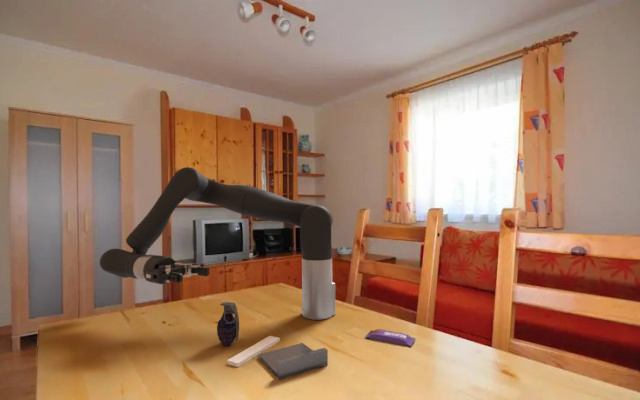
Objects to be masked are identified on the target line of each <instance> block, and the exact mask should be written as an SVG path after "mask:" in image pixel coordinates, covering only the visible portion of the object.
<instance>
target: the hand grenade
mask: <svg viewBox="0 0 640 400" xmlns="http://www.w3.org/2000/svg"><path fill="white" fill-rule="evenodd" d="M220 306H223V312H222V315H221V317H220V319H219V320H218V321H217V326H216V333H217V337H218V339H219V342H220V343H221V344H222V345H223V346H224V347H228V346H232V345H233V343H234V341H235V342H236V341H238V340H239V332H240V317H239V313H238V307H237V305H236V303H235V302H230V301H229V302H227V301H224V302H222V303H220Z"/></svg>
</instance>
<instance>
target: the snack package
mask: <svg viewBox="0 0 640 400" xmlns="http://www.w3.org/2000/svg"><path fill="white" fill-rule="evenodd" d="M364 338H367V339H370V340H374V341H379V342H380V341H381V342H384V343H390V344H395V345H401V346H404V347H405V346H409V347H410V346H411V347H412V345H413V343H414V342H415V340H416V338H415V337H412V336H410V335H409V334H407V333H403V332H397V331H391V330H386V329H379V328H376V329H373V330H370V331H369V332H368V333H367V334H366V335H365V336H364Z"/></svg>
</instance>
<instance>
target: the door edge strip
mask: <svg viewBox="0 0 640 400" xmlns="http://www.w3.org/2000/svg"><path fill="white" fill-rule="evenodd" d="M280 340H281V339H280V337H277V336H273V335H269V336H267V337H265V338H263V339H261V340H260V341H258V342H255V344H253V345H252V346H250V347H248V348H245V349H244V350H242V351H241V352H239V353H237V354H236V355H234V356H232V357H230V358H229V359H227V360H226V365H228V366H229V365H230V366H232V367H236V368H239V367H241V366H242V365H244V364H246V363H247V362H249V361H250V360H252V359H254V358H255V357H257V356H258V354H261V353H264V352H266V350H268V349H270V348H271V347H273V346H275V345H276V344H278V343H279V342H280Z"/></svg>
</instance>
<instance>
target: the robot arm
mask: <svg viewBox="0 0 640 400" xmlns="http://www.w3.org/2000/svg"><path fill="white" fill-rule="evenodd" d="M186 199H187V200H189V201H192V202H193V201H194V202H199V203H206V204H211V205H216V206H219V207H222V208H225V209H227V210H229V211H232V212H234V213H237V214H241V215H243V216H247V217H250V218H253V219H257V220H263V221H268V222H269V221H270V222H279V223H284V224H285V223H286V224H290V225H293V226H296V227H299V229H300V230H299V232H300V233H299V234H300V236H299V237H300V238H299V239H300V250H301V291H302V292H301V295H302V296H301V297H302V298H301V301H302V302H301V303H302V304H301V305H302V306H301V311H302V312H301V313H302V314H301V315H302V317H303V318H305V319H309V320H316V321H317V320H325V319H330V318H332V317H333V316H335V315H336V283H335V282H333V246H332V226H333V223H334V219H333V217H334V216H333V214H332V212H331V211H330V210H329V208H327V207H326V206H323V205H321V204H320V205H319V204H309V203H304V202H299V201H296V200H295V201H294V200H291V199H288V198H287V197H284V196H282V195H279V194H276V193H274V192H271V191H268V190H265V189H261V188H258V187H254V186H250V185H244V184H226V183H221V182H219V181H215V180H213V179H210V178H208V177H206V176H205V175H203V174H202V173H201V172H199V170H197V169H195V168H193V167H189V166H186V167H182V168H180V169H179V170H177V171H176V172H175V173H174V175H173V176H172V177H171V179H170V180H169V181H168V183H167V185H166V187H165V188H164V190H163V191H162V193H161V195H160V196H159V197H158V199H157V200H156V202H155V203H154V204H153V205H152V208H151V209H150V210H149V212H148V213H146V215H145V217H144V218H142V220H140V222H139V224H137V226H135V227H134V229H133V230H132V231H131V232H130V233H129V235H128V236H127V237H126V239H125V242H126V244H127V246H129V248H130V249H132V251H128V250H124V249H120V248H111V249H108V250H106V251H105V252H104V253H102V255H101V257H100V259H99V266H100V268H101V269H102V270H103V271H104V272H107V273H109V274H111V275H115V276H117V277H120V278H122V279H126V278H132V279H137V280H140V281H142V282H148V283H153V284H157V285H165V284H168V283H170V282H172V283H178V284H181V283H183V278H190V277H191V276H200V277H201V276H202V277H209V276H210V268H209V267H205V264H204V263H197V262H195V263H194V262H187V263H181V262H176V260H174V259H175V258H173V257H170V256H166V255H158V254H147V252H148V251H149V249H150V248H151V247H152V246H153V245H154V244H155V242H156V241H157V240H158V239H159V238H160V236H162V234H163V232H164V231H165V229H166V227H167V226H168V223H169V220H170V218H171V216H172V214H173V213H174V211H175V210H176V208H177V207H178V206H179V205H180V203H181V202H183V201H184V200H186ZM186 273H187V274H186Z"/></svg>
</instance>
